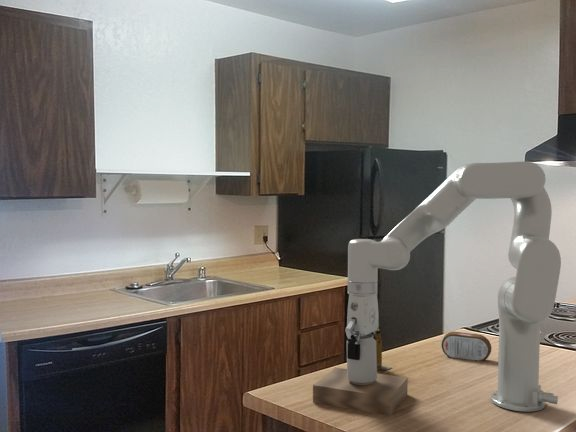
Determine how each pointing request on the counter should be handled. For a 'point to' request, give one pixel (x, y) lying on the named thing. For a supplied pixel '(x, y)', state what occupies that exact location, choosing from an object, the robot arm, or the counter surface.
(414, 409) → the counter surface
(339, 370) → the chopping block
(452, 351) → the tin
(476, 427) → the counter surface
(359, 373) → the can
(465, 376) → the counter surface
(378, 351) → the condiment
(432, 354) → the counter surface
